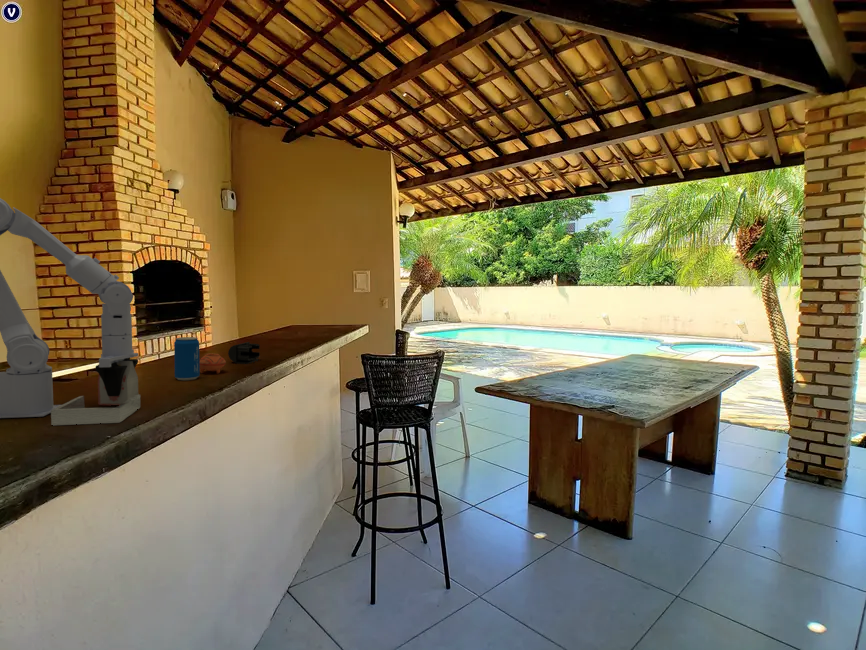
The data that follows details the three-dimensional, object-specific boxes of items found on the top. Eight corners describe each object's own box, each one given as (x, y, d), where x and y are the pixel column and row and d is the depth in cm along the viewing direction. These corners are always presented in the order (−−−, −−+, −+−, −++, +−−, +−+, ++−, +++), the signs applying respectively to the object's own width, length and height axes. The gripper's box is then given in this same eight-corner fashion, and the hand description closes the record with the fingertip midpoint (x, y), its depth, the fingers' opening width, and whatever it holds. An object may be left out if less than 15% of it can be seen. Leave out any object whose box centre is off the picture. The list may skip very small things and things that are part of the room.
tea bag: (110, 401, 108) (108, 358, 108) (138, 402, 108) (137, 359, 107) (98, 405, 105) (97, 361, 104) (127, 406, 105) (126, 362, 104)
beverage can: (189, 381, 132) (188, 339, 131) (169, 380, 133) (168, 338, 132) (204, 377, 138) (204, 337, 137) (185, 376, 139) (185, 336, 138)
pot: (202, 369, 149) (207, 349, 149) (226, 375, 150) (231, 355, 149) (190, 373, 141) (196, 351, 141) (216, 379, 142) (221, 358, 141)
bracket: (51, 425, 89) (50, 410, 89) (80, 409, 101) (79, 396, 100) (119, 422, 92) (119, 407, 92) (140, 407, 104) (140, 394, 103)
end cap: (241, 359, 173) (241, 341, 172) (260, 360, 172) (260, 342, 172) (227, 363, 163) (227, 344, 162) (247, 364, 162) (247, 345, 162)
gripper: (124, 338, 99) (126, 400, 100) (147, 331, 113) (148, 386, 114) (86, 338, 97) (88, 401, 99) (114, 331, 111) (115, 386, 112)
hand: (118, 393), depth 106 cm, fingers closed on tea bag, 5 cm apart
